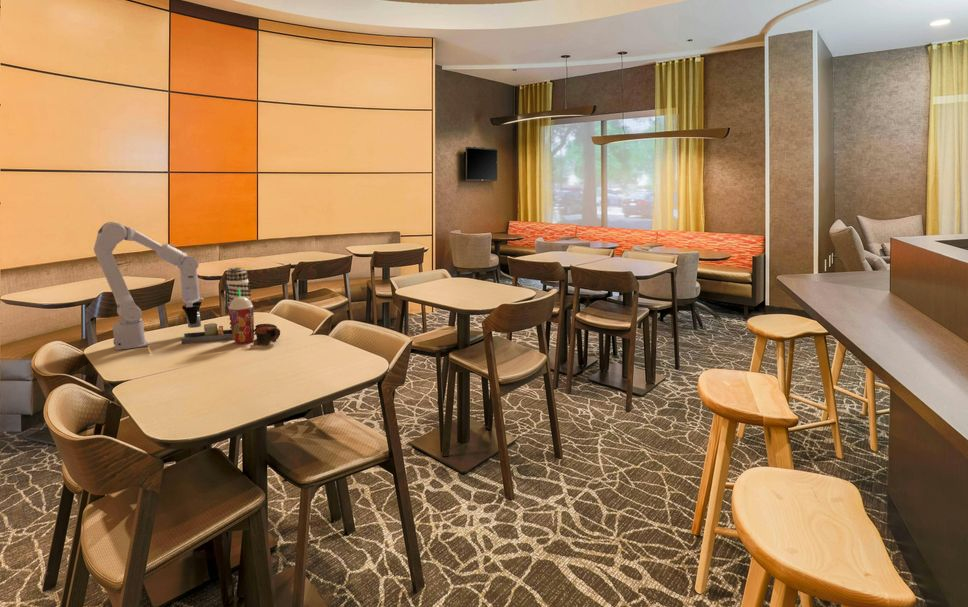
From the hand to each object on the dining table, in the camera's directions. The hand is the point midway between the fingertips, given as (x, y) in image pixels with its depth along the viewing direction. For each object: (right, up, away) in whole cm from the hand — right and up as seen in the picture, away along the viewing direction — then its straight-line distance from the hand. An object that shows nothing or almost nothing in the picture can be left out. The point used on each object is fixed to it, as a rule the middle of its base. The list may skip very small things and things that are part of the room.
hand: (193, 322), depth 206 cm
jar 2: (+9, -6, -5) cm, 12 cm away
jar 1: (0, -2, 0) cm, 2 cm away
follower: (+12, -6, -4) cm, 14 cm away
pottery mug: (+32, -8, -9) cm, 34 cm away
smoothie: (+23, -7, -9) cm, 26 cm away
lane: (+9, -6, -5) cm, 12 cm away
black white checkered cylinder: (+14, -4, +10) cm, 18 cm away
